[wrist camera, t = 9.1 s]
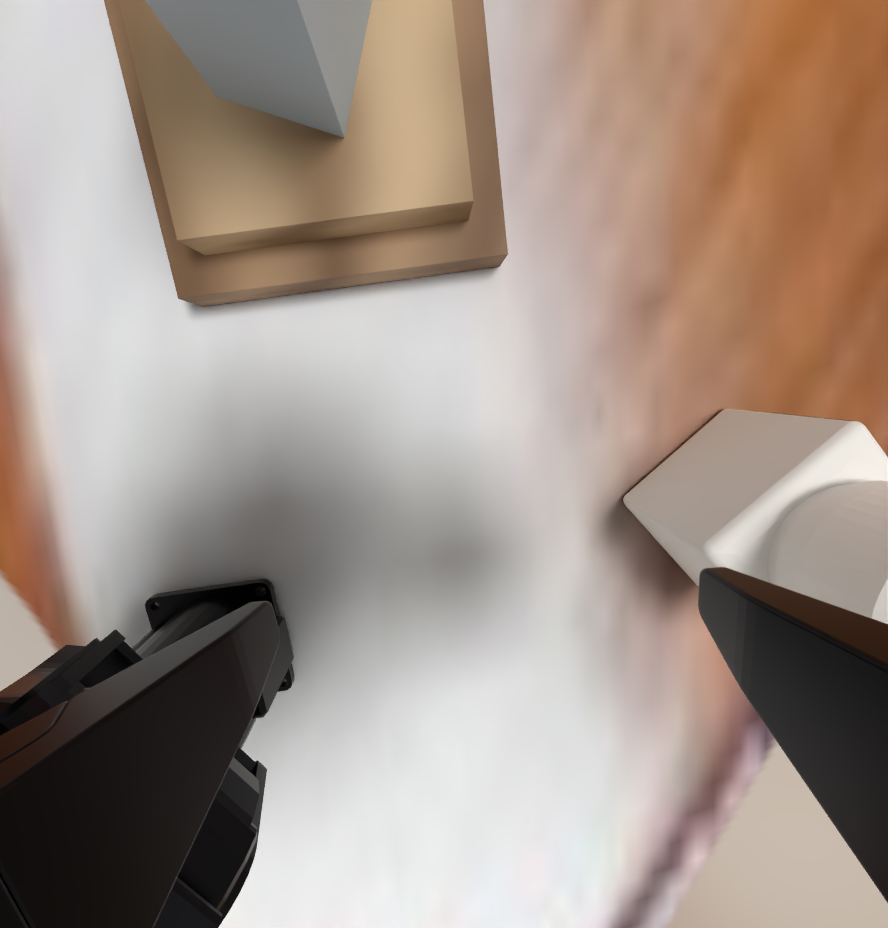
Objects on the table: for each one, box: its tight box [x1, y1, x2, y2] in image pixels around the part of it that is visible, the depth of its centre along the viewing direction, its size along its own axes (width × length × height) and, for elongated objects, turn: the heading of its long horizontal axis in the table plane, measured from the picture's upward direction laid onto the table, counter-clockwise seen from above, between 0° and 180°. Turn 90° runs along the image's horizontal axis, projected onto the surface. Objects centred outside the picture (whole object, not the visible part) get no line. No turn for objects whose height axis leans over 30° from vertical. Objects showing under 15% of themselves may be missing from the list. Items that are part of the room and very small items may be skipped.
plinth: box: [104, 0, 508, 306], centre depth 16 cm, size 14×14×4 cm
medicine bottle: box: [623, 408, 888, 624], centre depth 17 cm, size 7×7×12 cm
